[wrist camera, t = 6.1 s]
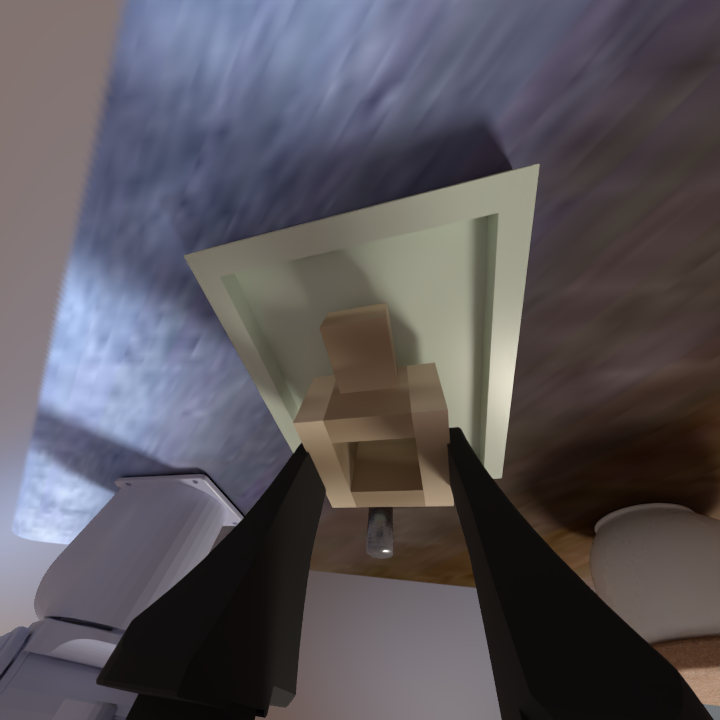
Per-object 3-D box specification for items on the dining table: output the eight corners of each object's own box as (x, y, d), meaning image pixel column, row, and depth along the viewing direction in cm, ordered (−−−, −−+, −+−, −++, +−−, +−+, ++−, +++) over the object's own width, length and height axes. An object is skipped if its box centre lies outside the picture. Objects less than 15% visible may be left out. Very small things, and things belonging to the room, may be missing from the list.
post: (372, 500, 21) (369, 558, 18) (367, 487, 20) (363, 546, 17) (394, 499, 21) (394, 558, 17) (390, 487, 20) (390, 546, 16)
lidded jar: (537, 545, 22) (617, 734, 15) (607, 474, 16) (805, 728, 9) (667, 561, 22) (824, 768, 14) (789, 493, 16) (1181, 787, 8)
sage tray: (317, 461, 19) (310, 484, 17) (211, 247, 11) (183, 255, 9) (491, 452, 16) (501, 478, 15) (513, 169, 9) (539, 163, 7)
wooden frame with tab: (442, 449, 14) (453, 506, 11) (342, 455, 15) (332, 507, 12) (429, 294, 9) (442, 327, 7) (292, 319, 11) (260, 354, 8)
